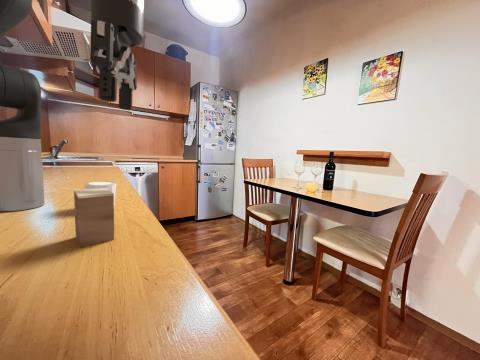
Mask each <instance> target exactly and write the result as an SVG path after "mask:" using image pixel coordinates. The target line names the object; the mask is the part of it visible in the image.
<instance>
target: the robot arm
mask: <svg viewBox="0 0 480 360" xmlns="http://www.w3.org/2000/svg"><path fill="white" fill-rule="evenodd" d="M32 9H33V0H0V41H1V40H2V39H3V38H4V37H5V35H7V34H8V33H9V32H10V31H11V30H13V29H14V28H16V27H17V26H18V25H19V24H21V23H22V22H24V21H25V20H26V18H28V16H29V15H30V14H31V12H32ZM90 12H91V13H90V15H91V16H90V50H89V51H90V54H89V57H90V58H89V60H90V63H91V64H92V65H93V66H95V68H96V69H95V70H96V72H97V74H98V75H99V76H98V79H99V80H98V83H99V85H98V89H99V91H98V94H99V95H98V98H99V99H100V100H101V101H104V102H109V103H110V102H111V103H115V102H117V100H118V108H119V109H121V110H124V111H131V110H132V109H133V92H135V91H137V88H138V85H137V81H138V79H137V78H138V77H137V76H138V75H137V73H138V72H137V71H138V61H137V58H135V55H134V53H132V48H133V47H134V46H140V45H142V43H143V41H144V28H145V27H144V21H145V20H144V19H145V0H90ZM127 81H128V82H127ZM117 84H118V85H117ZM117 86H118V87H117ZM117 89H118V91H117ZM134 90H135V91H134ZM117 98H118V99H117ZM0 107H3V108H10V109H15V110H16V114H15V115H14V116H13V117H9V118H5V119H2V120H0V212H14V211H24V210H30V209H35V208H39V207H42V206H44V205H45V184H44V183H45V182H44V172H43V171H44V170H43V155H42V152H43V151H42V139H41V131H42V89H41V84H40V81H39V79H38V77H37V76H36V75H35V74H34V73H31V72H29V71H26V70H23V69H19V68H16V67H14V66H13V67H11V66H9V65H5V64H2V63H0Z"/></svg>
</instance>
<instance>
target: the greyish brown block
mask: <svg viewBox="0 0 480 360" xmlns="http://www.w3.org/2000/svg"><path fill="white" fill-rule="evenodd" d="M73 201H74V223H75V224H74V226H75V227H74V228H75V239H76V241H77V244H78V245H79V247H80V248H85V247H89V246H94V245H97V244H98V245H99V244H102V243H107V242H111V241H115V203H114V193H113V192H111V191H110V190H108V189H107V188H100V189H86V188H85V189H73Z"/></svg>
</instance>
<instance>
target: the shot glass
mask: <svg viewBox="0 0 480 360" xmlns="http://www.w3.org/2000/svg"><path fill="white" fill-rule="evenodd" d="M84 184H85V185H84V186H85V189H100V188H107V189H108V190H110V191H111V192H113V193H114V204H115V202H116V193H117V191H116V190H117V183H116V182H115V181H108V180H107V181H106V180H105V181H104V180H102V181H101V180H99V181H90V182H86V183H84Z"/></svg>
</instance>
